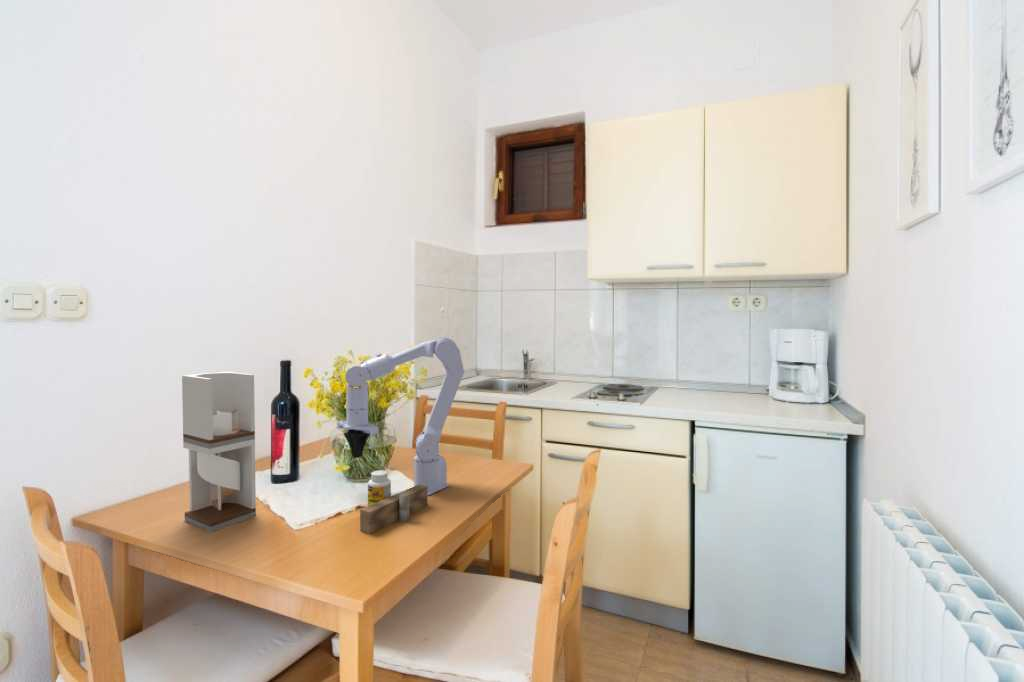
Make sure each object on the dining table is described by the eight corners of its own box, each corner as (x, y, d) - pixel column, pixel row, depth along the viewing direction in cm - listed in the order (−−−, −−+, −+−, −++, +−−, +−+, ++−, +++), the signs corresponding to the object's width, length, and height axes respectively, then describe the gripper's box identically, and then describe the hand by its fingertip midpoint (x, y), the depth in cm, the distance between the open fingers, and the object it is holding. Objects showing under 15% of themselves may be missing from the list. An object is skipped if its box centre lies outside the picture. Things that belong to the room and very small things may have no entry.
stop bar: (418, 502, 127) (418, 480, 127) (434, 507, 124) (434, 484, 124) (360, 530, 110) (360, 505, 110) (377, 536, 107) (377, 510, 107)
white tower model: (184, 520, 114) (182, 375, 113) (229, 506, 123) (227, 371, 122) (210, 532, 108) (208, 379, 107) (255, 515, 118) (254, 374, 116)
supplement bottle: (363, 513, 120) (363, 473, 119) (379, 506, 124) (379, 467, 124) (379, 518, 117) (379, 477, 116) (395, 510, 122) (395, 471, 121)
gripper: (327, 407, 132) (328, 456, 133) (364, 413, 125) (364, 464, 126) (348, 404, 139) (348, 450, 139) (384, 409, 131) (384, 458, 132)
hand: (357, 456), depth 133 cm, fingers closed
